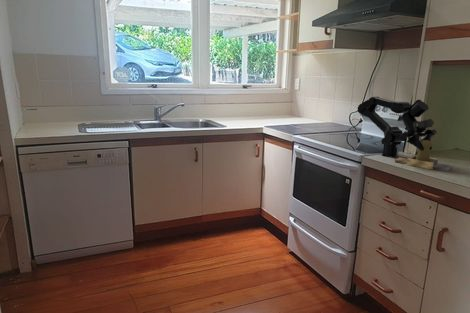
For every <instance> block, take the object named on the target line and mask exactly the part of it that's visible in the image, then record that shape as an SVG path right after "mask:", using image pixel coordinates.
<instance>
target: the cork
mask: <svg viewBox="0 0 470 313" xmlns="http://www.w3.org/2000/svg"><path fill="white" fill-rule="evenodd" d="M420 142H421V144H422V146H423V148H424V150H423V151H421V150H420V149H418V152H417V154H416V156H417V158H416V160H420V161H426V162H429V161H430V158H431V157H430V155H431V154H430V153H431V152H430V151H431V150H430V147H431V146H432V143H433V142H432V140H431V141H429V140H422V139H420Z"/></svg>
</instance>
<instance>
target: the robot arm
mask: <svg viewBox="0 0 470 313" xmlns="http://www.w3.org/2000/svg"><path fill="white" fill-rule="evenodd" d="M378 106H380V107H383V108H386V109H389V110H391V111H392V112H393V113H395V114H402V115H398V118H397V122H403V124H404V126H405V127H404V132H403V130H402V129H400V127H399V126H391V125H390V124H389V123H388V122H387V121H386V120H385V119H384V118H382V116H380V115H379V113H377V111H376V108H377V107H378ZM427 111H429V105H428V104H427V103H425V102H424V101H422V100H421V99H416V100H415V102H414V103H412V104H410V102H408V101H394V100H390V99H387V98H383V97H379V96H371V97H370V98H369V99H367V100H365V101H363V102H362V103H359V105H358V106H357V113H358V114H360V115H361V116H364V117H366V118H368V119H369V120H370V121H371V122H372V124H374V125H375V126H376V127H377V128H378V129H379V130H380V131H382V133H383V138H382V139H381V140H380V141H381V145H383V150H382V154H381V156H384V157H390V158H396V157H398V155H399V147H398V146H399V145H401V144H402V142H406V143H409V144H411V145H412V146H414V147H416V148H417V149H418V150H419V149H420V150H421V151H423V150H424V148H423V146H422V144H421V142H420V141H421V140H429V141H431V142H432V140H431V139H432V138H433V137H434V136H436V135H437V134H438V132H437V130H436V129H434V128H432V127H433V125H435V124H434V123H435V121H433V119H432V118H428V119H424V120H422V121H420V120H417V118H420V117H421V116H422V115H424V114H425V113H426V112H427ZM427 128H428V129H427ZM429 128H430V129H429ZM420 138H421V139H420ZM432 149H433V146H432V145H431V147H430V151H431V150H432Z"/></svg>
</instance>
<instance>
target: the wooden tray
mask: <svg viewBox="0 0 470 313" xmlns="http://www.w3.org/2000/svg"><path fill="white" fill-rule="evenodd" d="M416 158H417V155H412V156H410V157H408V158H407V157H401V156H399V157H397V158H395V159H394V163H397V164H403V165H406V166H410V167H416V168H422V169H427V170H428V169H429V170H436V171H442V172H449V171H450V170H451V169H452V165H448V164H443V163H439V159H438V158H432V157H430V161H429V162H426V161H420V160H416Z"/></svg>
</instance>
